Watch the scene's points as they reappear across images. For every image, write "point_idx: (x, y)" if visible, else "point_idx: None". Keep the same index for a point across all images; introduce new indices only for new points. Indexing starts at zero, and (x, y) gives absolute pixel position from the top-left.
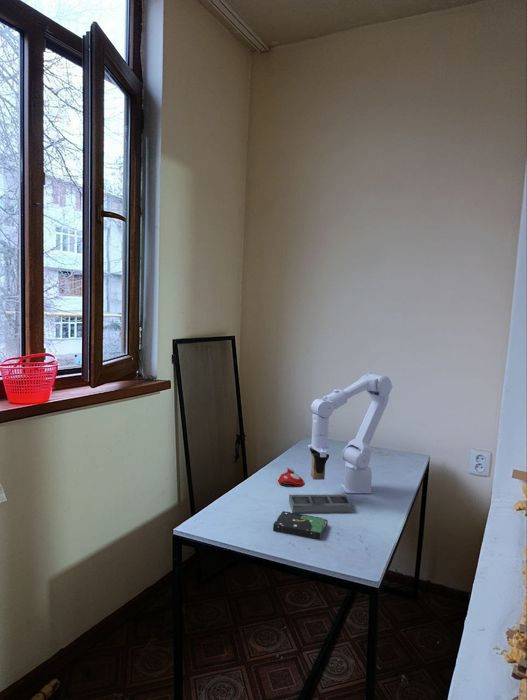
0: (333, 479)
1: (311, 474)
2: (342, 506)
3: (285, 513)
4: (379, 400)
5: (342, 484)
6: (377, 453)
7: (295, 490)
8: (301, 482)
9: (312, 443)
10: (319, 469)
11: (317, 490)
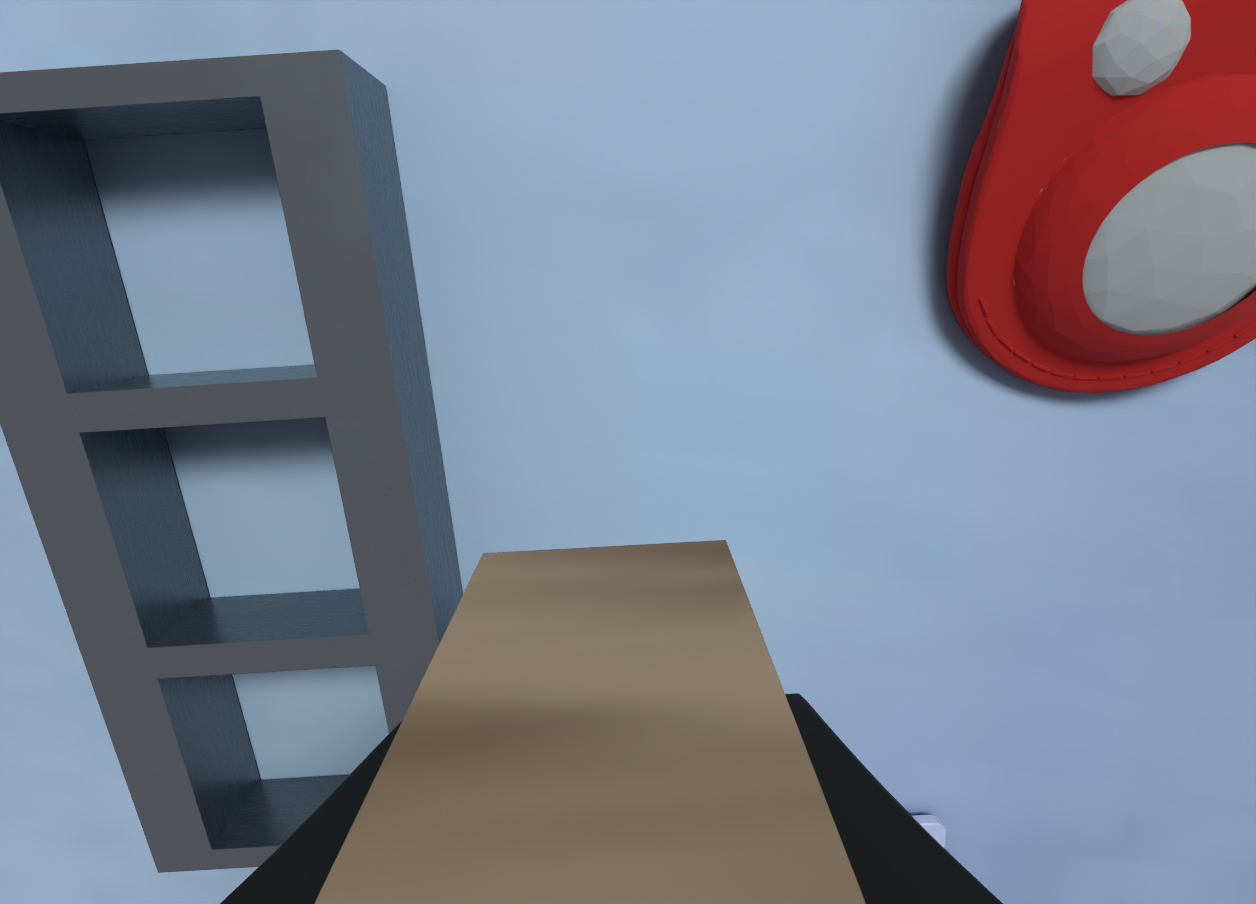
0: (1137, 761)
1: (706, 554)
2: (134, 763)
3: None
4: None
5: (932, 835)
6: None
7: (809, 234)
8: (1038, 350)
9: None
10: None
11: (802, 537)
